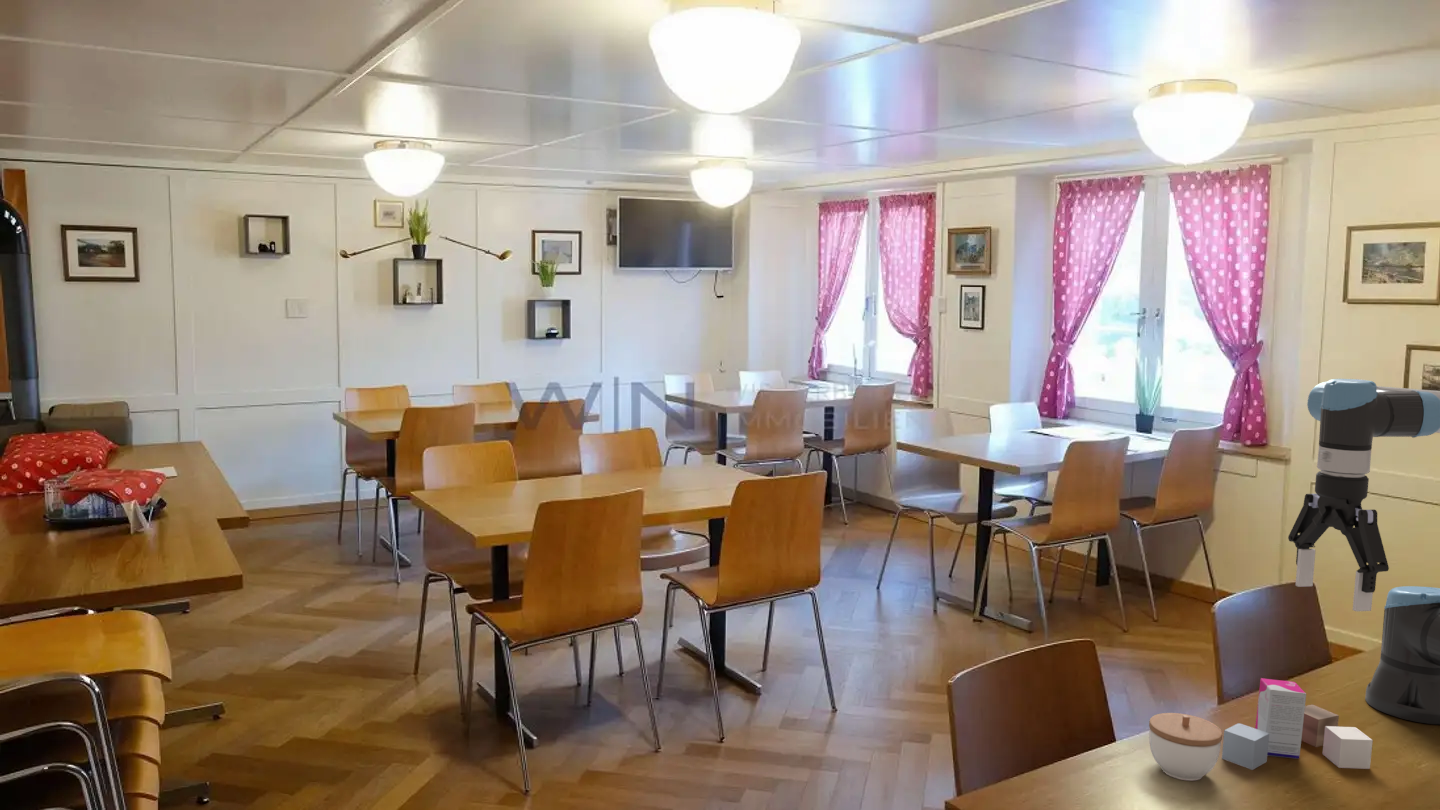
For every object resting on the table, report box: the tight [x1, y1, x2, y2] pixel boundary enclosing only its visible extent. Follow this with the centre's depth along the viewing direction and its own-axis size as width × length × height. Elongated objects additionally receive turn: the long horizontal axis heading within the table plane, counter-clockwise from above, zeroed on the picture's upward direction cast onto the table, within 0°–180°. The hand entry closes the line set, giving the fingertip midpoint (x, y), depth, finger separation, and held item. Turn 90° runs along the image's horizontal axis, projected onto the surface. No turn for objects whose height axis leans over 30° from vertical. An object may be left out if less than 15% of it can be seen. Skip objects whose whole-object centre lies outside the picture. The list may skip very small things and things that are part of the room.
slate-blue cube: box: [1221, 722, 1269, 771], centre depth 174 cm, size 5×5×5 cm
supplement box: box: [1254, 677, 1307, 760], centre depth 178 cm, size 6×6×12 cm
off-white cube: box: [1322, 726, 1374, 770], centre depth 175 cm, size 5×5×5 cm
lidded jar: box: [1148, 712, 1223, 782], centre depth 169 cm, size 11×11×9 cm
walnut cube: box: [1301, 704, 1340, 748], centre depth 183 cm, size 5×5×5 cm
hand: (1331, 597), depth 177 cm, fingers open, 13 cm apart
